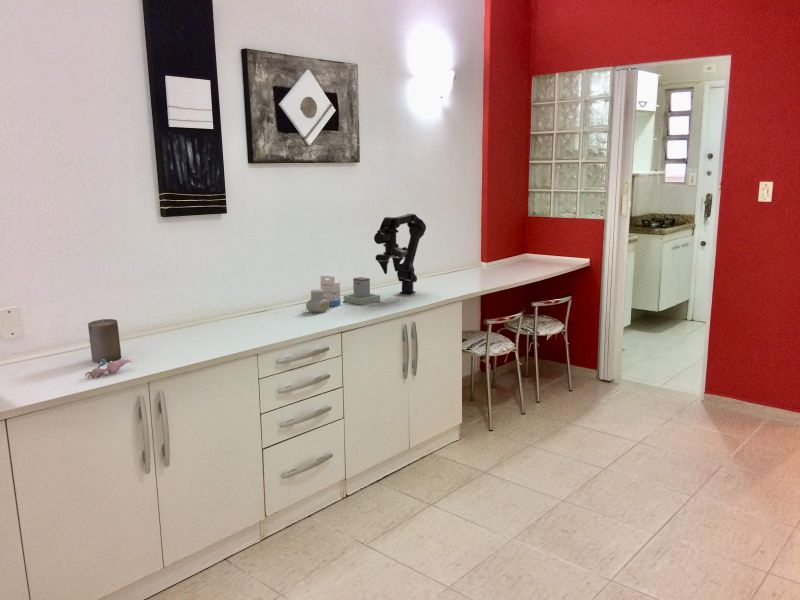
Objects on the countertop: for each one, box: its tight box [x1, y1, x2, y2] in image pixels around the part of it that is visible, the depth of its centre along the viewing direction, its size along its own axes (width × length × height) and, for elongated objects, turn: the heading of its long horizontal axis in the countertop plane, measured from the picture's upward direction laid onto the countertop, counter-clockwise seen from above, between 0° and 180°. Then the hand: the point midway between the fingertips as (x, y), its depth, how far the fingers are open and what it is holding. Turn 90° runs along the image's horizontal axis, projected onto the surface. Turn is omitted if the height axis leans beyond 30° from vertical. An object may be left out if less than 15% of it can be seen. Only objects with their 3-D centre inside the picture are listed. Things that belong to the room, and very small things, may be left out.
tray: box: [342, 292, 381, 306], centre depth 333 cm, size 13×13×3 cm
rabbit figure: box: [84, 358, 133, 379], centre depth 220 cm, size 6×6×15 cm
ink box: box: [320, 275, 342, 307], centre depth 323 cm, size 8×5×15 cm, turn 62°
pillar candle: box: [87, 318, 122, 363], centre depth 235 cm, size 10×10×15 cm
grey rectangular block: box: [352, 276, 371, 298], centre depth 331 cm, size 6×7×11 cm
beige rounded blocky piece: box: [305, 289, 330, 314], centre depth 310 cm, size 11×8×10 cm
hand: (391, 272), depth 339 cm, fingers open, 9 cm apart
